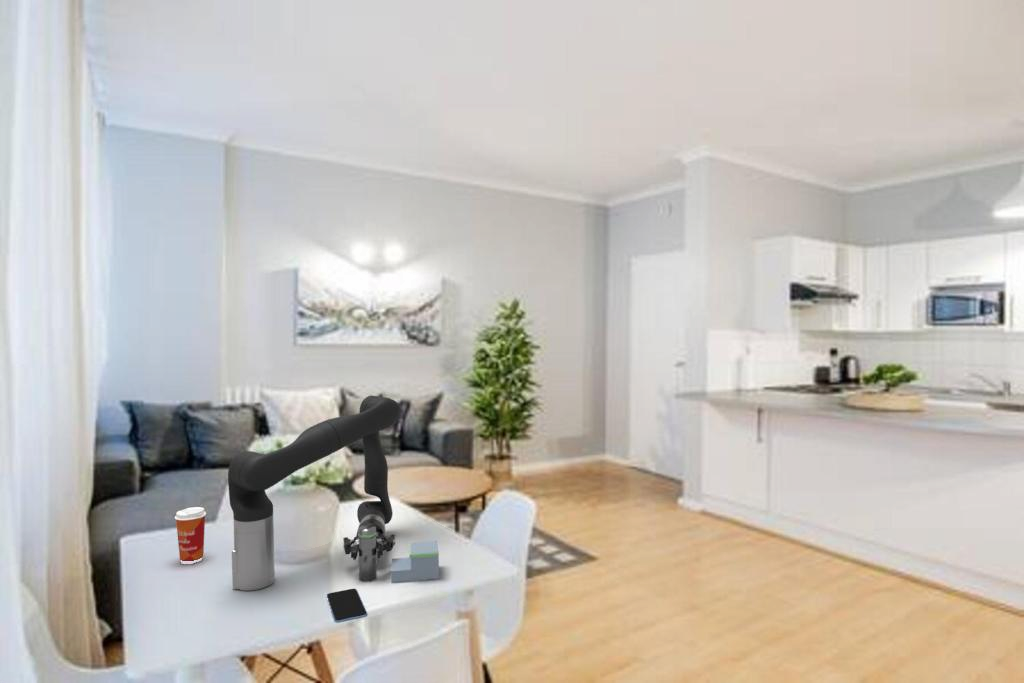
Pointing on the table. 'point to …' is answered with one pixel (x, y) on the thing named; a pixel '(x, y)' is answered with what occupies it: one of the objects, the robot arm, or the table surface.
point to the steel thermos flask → (367, 553)
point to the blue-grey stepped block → (417, 563)
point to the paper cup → (191, 533)
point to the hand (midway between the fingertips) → (366, 555)
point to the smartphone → (346, 605)
